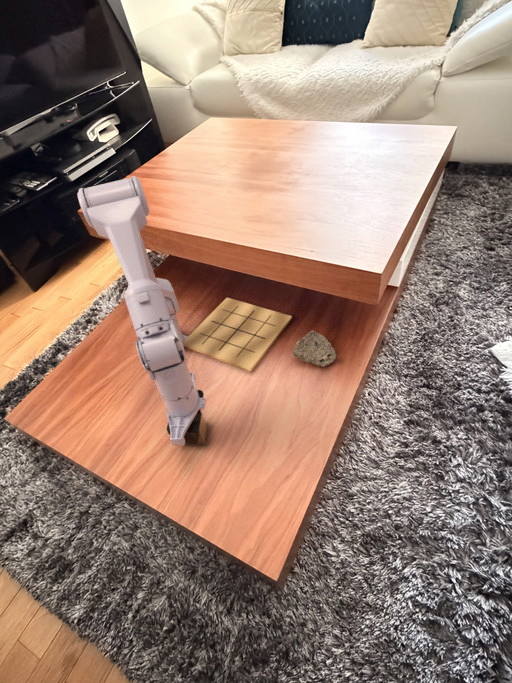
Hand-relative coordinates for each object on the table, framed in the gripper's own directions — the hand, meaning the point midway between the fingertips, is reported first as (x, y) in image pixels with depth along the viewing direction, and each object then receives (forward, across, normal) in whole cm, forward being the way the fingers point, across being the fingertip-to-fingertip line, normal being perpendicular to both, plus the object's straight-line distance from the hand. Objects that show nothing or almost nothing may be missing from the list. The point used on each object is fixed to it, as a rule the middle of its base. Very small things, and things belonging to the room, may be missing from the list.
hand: (194, 432), depth 74 cm
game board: (+1, +30, -7) cm, 30 cm away
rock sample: (+2, +20, -25) cm, 32 cm away
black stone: (+1, 0, 0) cm, 1 cm away
